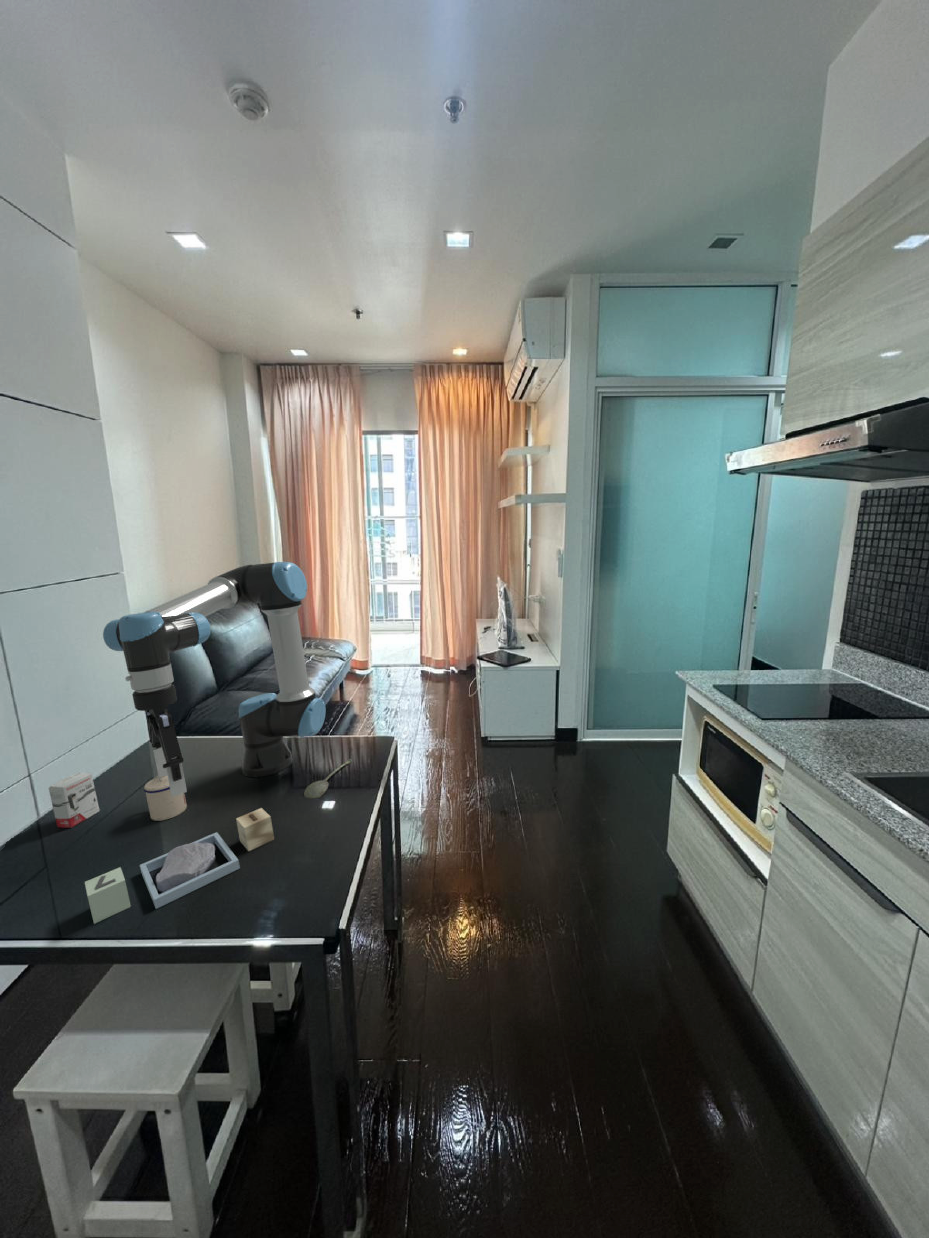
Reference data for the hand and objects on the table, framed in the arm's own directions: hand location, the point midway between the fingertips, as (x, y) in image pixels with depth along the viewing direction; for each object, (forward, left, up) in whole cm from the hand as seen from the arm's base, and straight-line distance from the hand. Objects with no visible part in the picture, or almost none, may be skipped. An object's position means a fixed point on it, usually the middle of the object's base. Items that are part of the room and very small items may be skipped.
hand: (172, 784), depth 105 cm
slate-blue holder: (0, 0, -21) cm, 21 cm away
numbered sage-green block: (+14, 0, -21) cm, 25 cm away
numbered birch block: (-15, 0, -21) cm, 25 cm away
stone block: (0, 0, -21) cm, 21 cm away
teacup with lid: (-2, -35, -21) cm, 41 cm away
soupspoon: (-41, -14, -21) cm, 49 cm away
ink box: (+16, -51, -21) cm, 57 cm away
